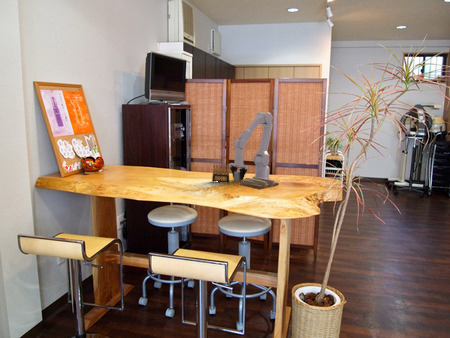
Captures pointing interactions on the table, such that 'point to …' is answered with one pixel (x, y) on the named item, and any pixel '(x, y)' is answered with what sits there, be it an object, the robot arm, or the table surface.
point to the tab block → (237, 176)
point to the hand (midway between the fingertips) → (238, 178)
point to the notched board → (259, 182)
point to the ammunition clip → (220, 173)
